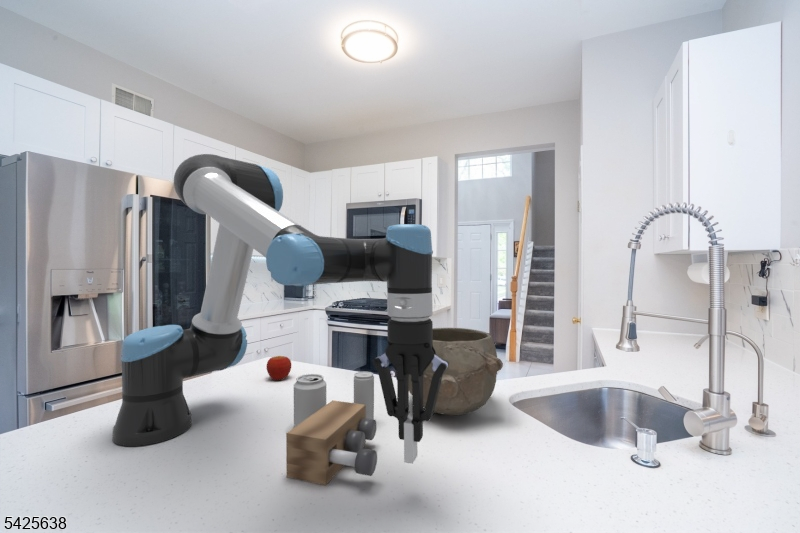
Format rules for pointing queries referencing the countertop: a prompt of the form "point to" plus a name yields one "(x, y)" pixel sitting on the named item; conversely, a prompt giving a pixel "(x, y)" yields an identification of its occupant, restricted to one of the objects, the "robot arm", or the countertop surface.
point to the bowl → (462, 370)
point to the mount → (320, 441)
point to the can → (308, 396)
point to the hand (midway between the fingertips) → (410, 458)
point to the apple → (278, 367)
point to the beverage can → (364, 391)
